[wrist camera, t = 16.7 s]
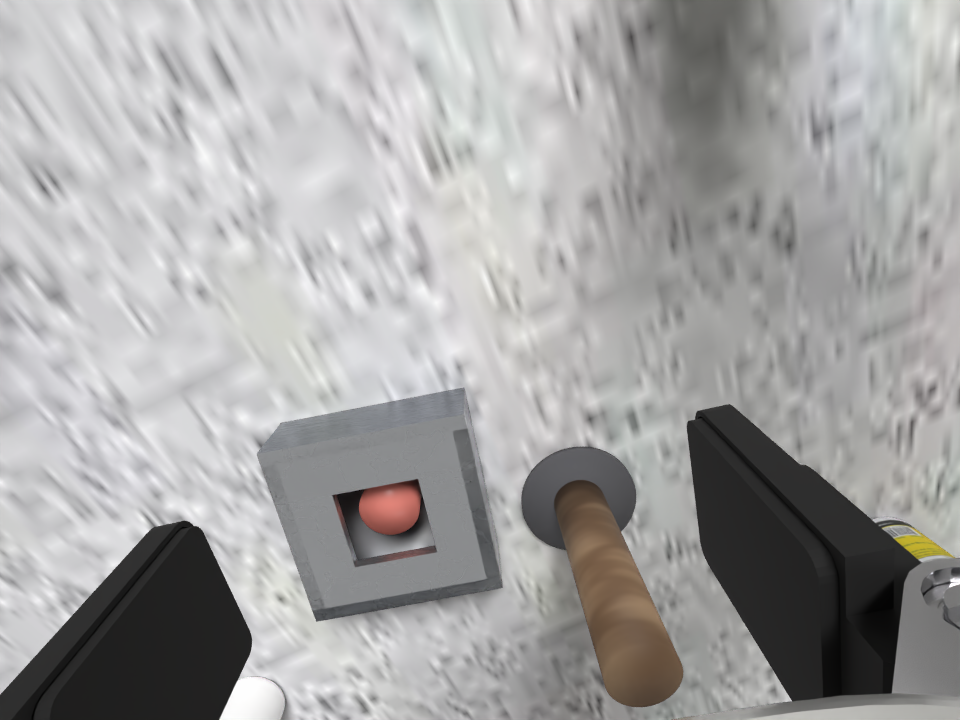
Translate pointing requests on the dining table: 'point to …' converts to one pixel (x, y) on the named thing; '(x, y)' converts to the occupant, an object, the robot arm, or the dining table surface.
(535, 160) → the dining table surface
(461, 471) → the grey square holed block
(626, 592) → the tan wooden rod
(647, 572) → the dining table surface
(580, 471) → the coaster
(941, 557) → the supplement bottle
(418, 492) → the pink rounded dome
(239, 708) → the drinking glass
